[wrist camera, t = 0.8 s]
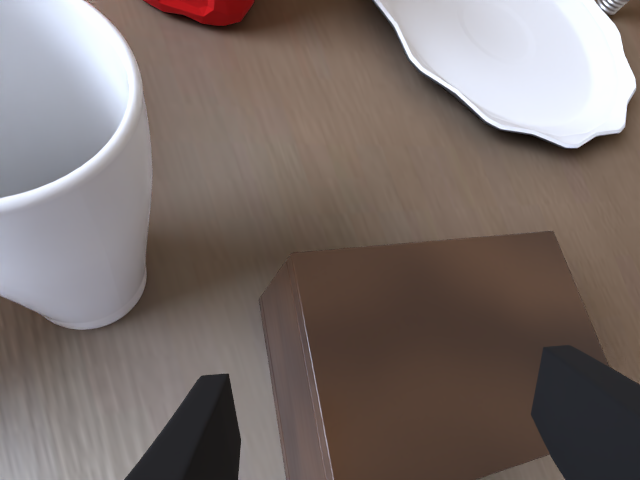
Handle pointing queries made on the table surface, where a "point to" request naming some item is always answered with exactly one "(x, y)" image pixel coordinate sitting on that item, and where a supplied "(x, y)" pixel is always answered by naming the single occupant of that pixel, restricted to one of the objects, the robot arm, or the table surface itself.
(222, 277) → the table surface
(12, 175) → the white cylinder
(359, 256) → the cupboard
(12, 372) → the table surface
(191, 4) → the water bottle
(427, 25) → the plate
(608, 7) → the lightbulb
